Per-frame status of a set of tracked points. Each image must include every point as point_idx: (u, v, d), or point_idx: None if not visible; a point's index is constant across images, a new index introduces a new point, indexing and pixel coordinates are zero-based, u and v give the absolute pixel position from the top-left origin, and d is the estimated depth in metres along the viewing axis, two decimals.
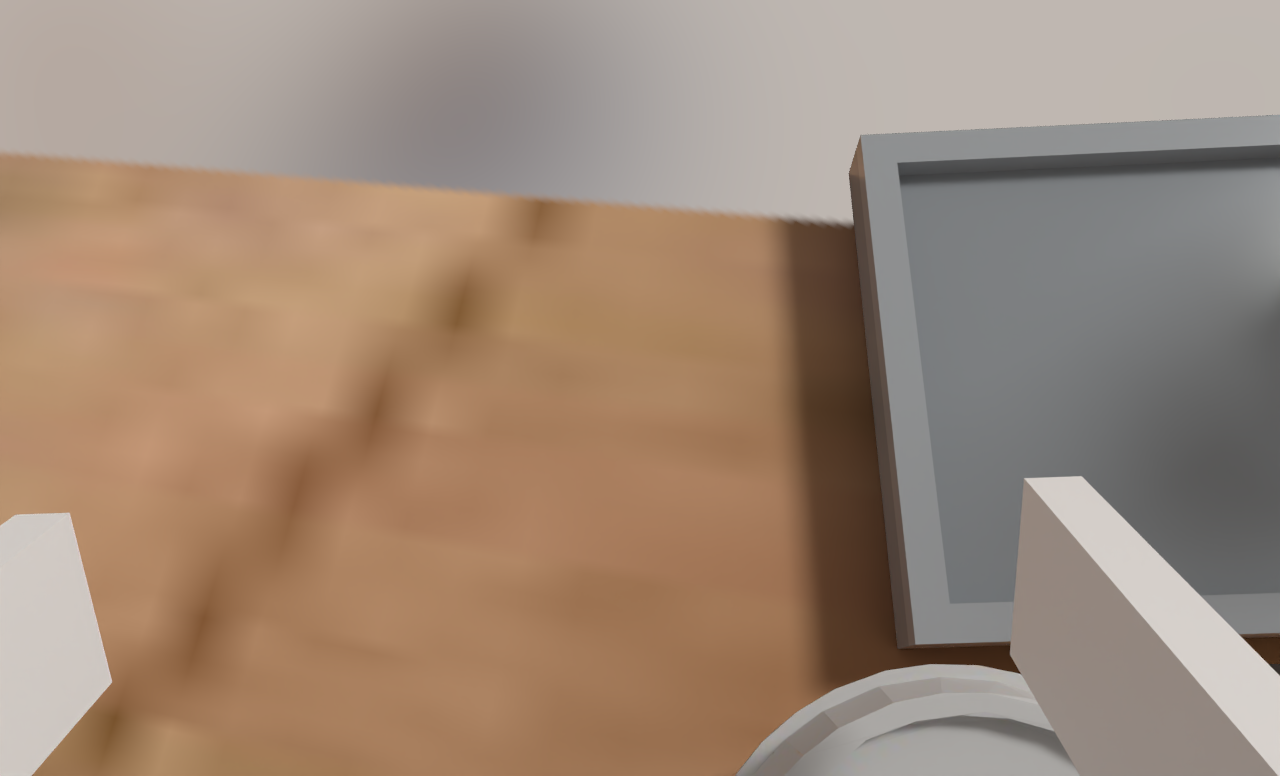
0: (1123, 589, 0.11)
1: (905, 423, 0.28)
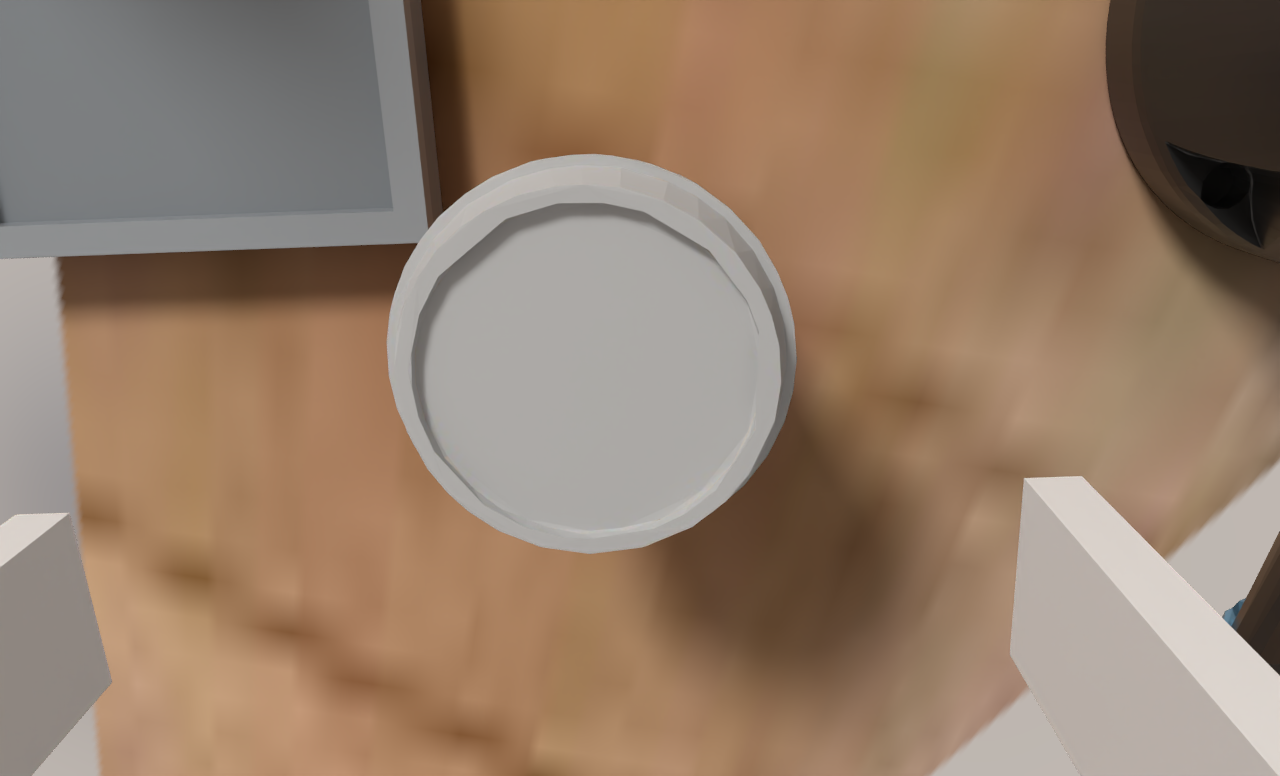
0: (1123, 589, 0.11)
1: (238, 237, 0.31)
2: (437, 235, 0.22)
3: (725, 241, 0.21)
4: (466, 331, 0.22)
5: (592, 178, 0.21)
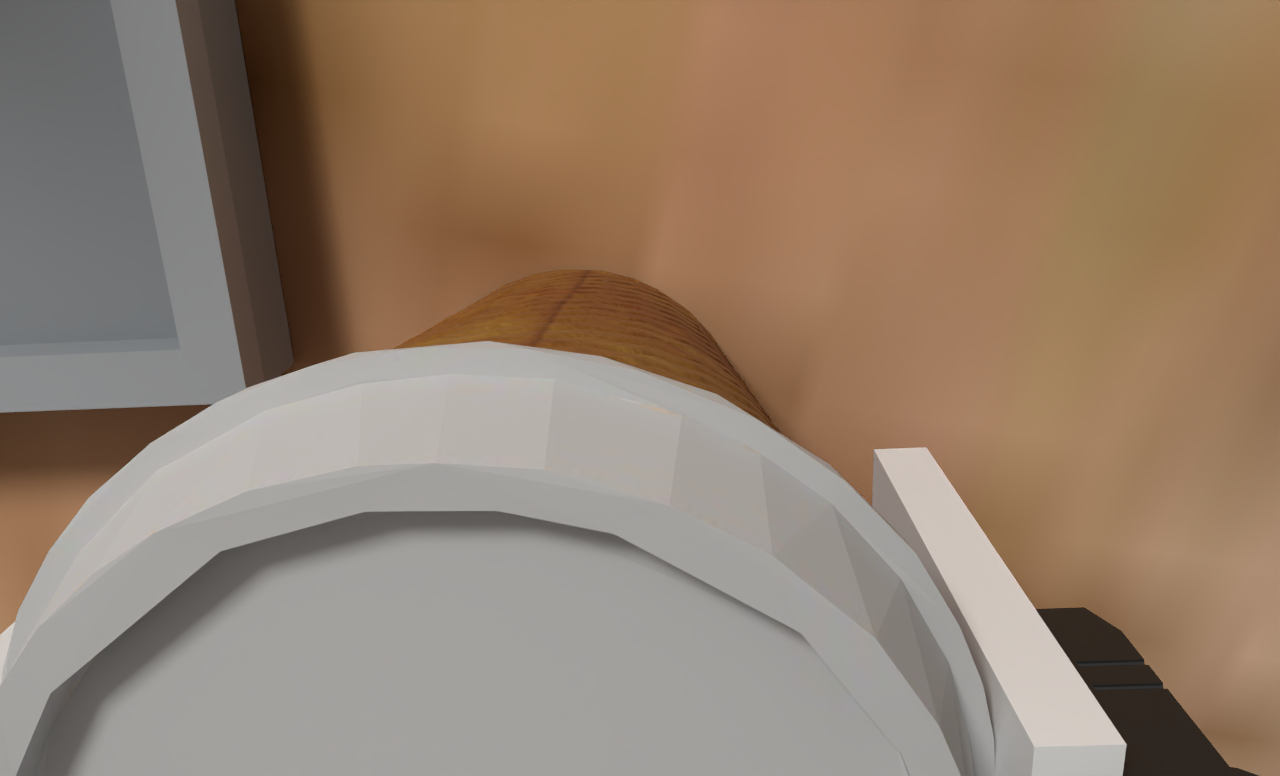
0: (928, 542, 0.12)
1: None
2: (86, 545, 0.09)
3: (843, 607, 0.07)
4: None
5: (468, 430, 0.07)
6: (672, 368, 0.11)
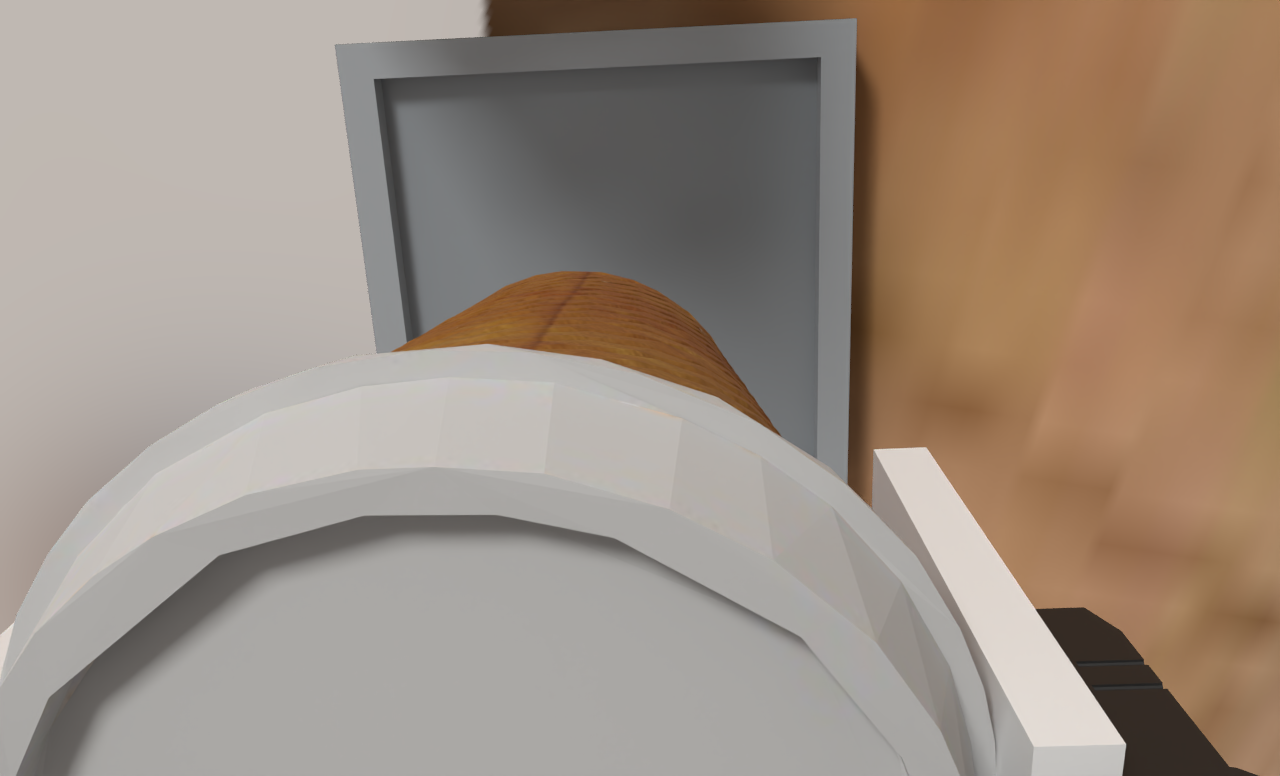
0: (928, 542, 0.12)
1: None
2: (85, 549, 0.09)
3: (844, 611, 0.07)
4: None
5: (467, 435, 0.07)
6: (672, 370, 0.11)
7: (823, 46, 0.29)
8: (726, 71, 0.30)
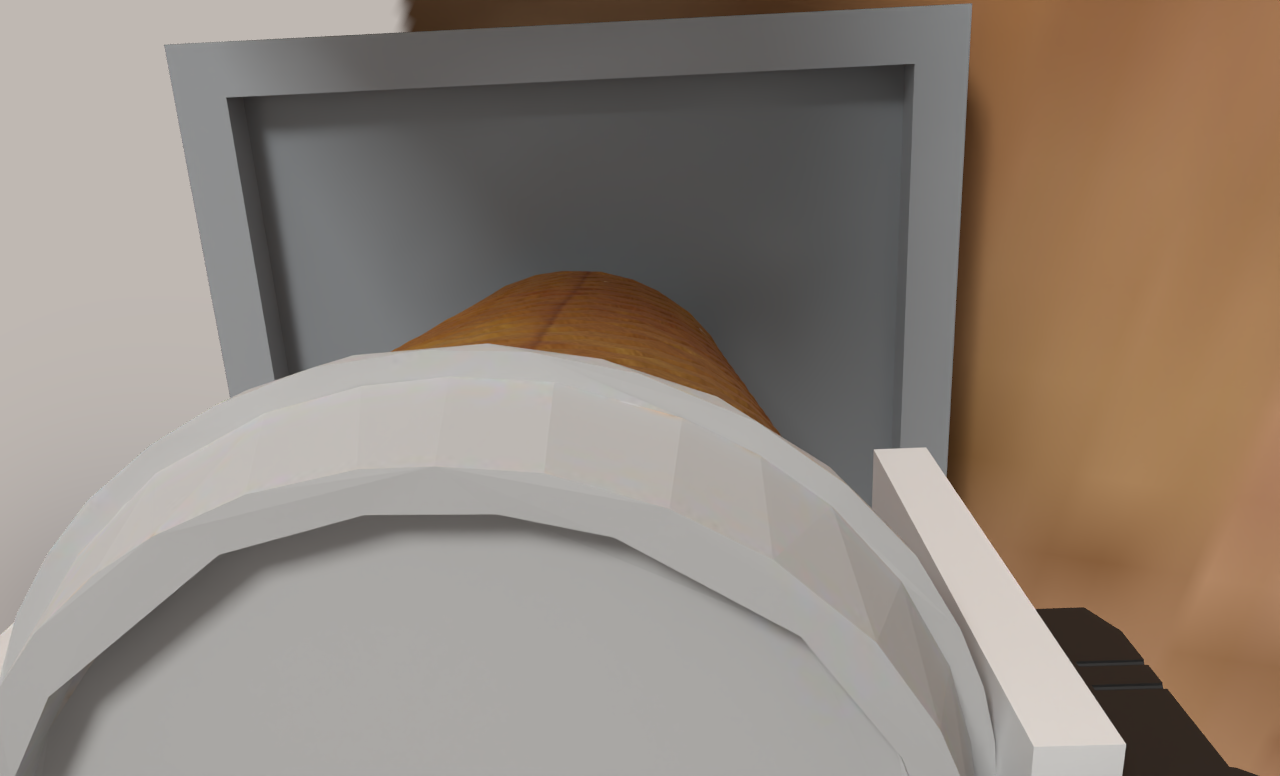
0: (928, 542, 0.12)
1: None
2: (84, 549, 0.09)
3: (844, 611, 0.07)
4: None
5: (467, 435, 0.07)
6: (672, 370, 0.11)
7: (918, 47, 0.19)
8: (766, 84, 0.20)
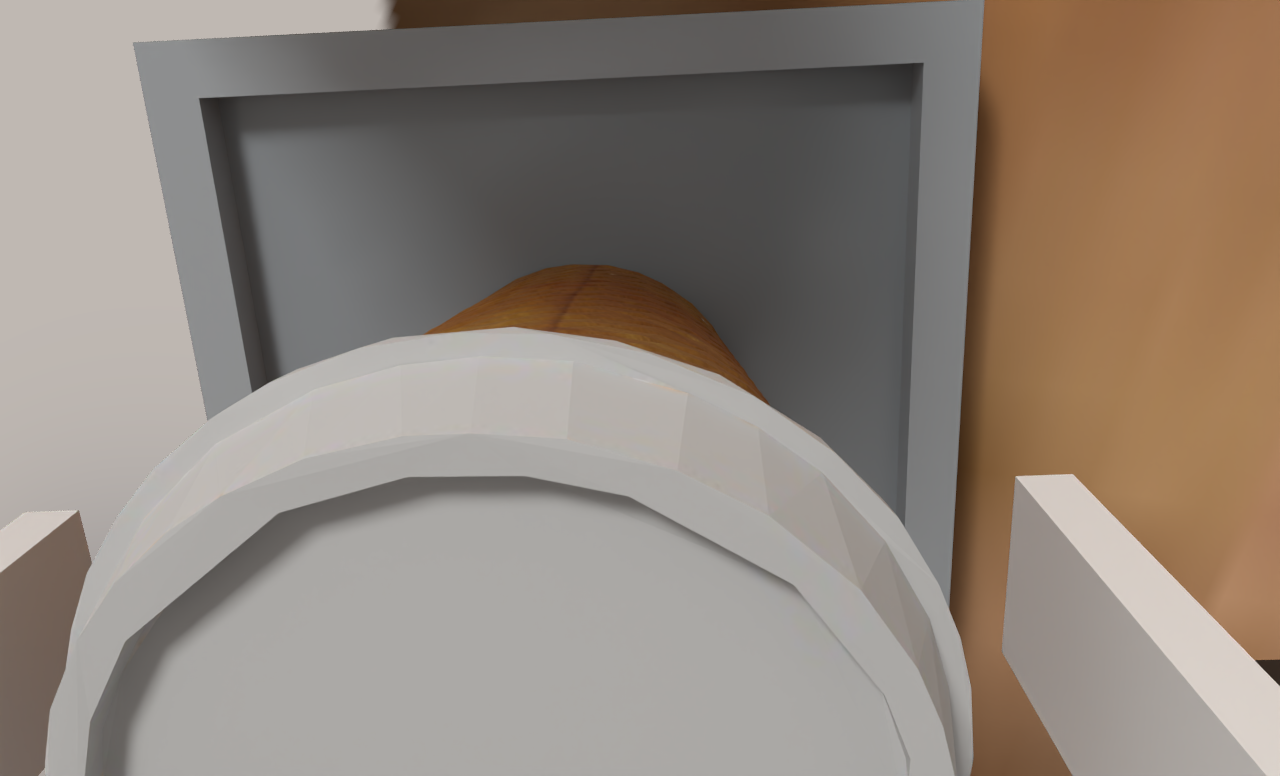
0: (1112, 586, 0.11)
1: None
2: (150, 512, 0.10)
3: (832, 561, 0.08)
4: (216, 742, 0.09)
5: (497, 405, 0.08)
6: (677, 354, 0.12)
7: (928, 45, 0.18)
8: (768, 84, 0.19)
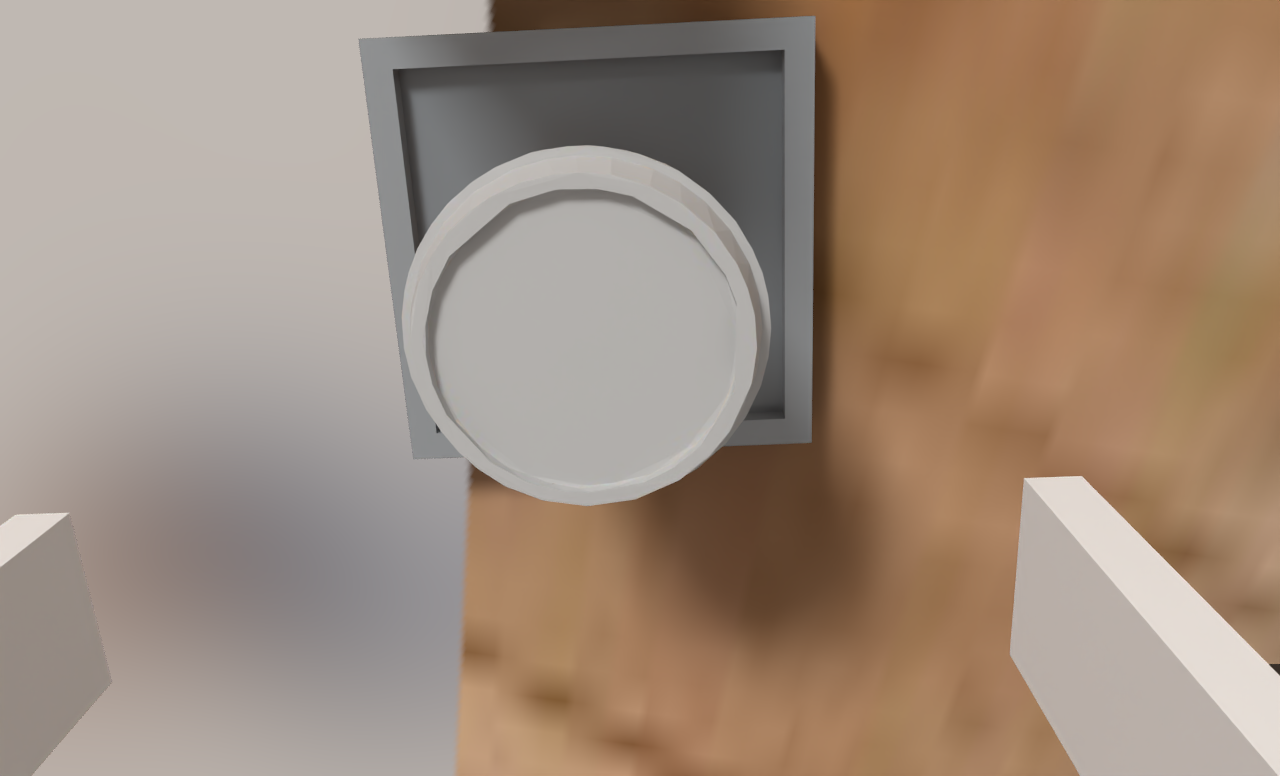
0: (1123, 589, 0.11)
1: None
2: (447, 220, 0.25)
3: (704, 222, 0.24)
4: (474, 306, 0.25)
5: (585, 167, 0.24)
6: None
7: (786, 40, 0.33)
8: (702, 62, 0.34)
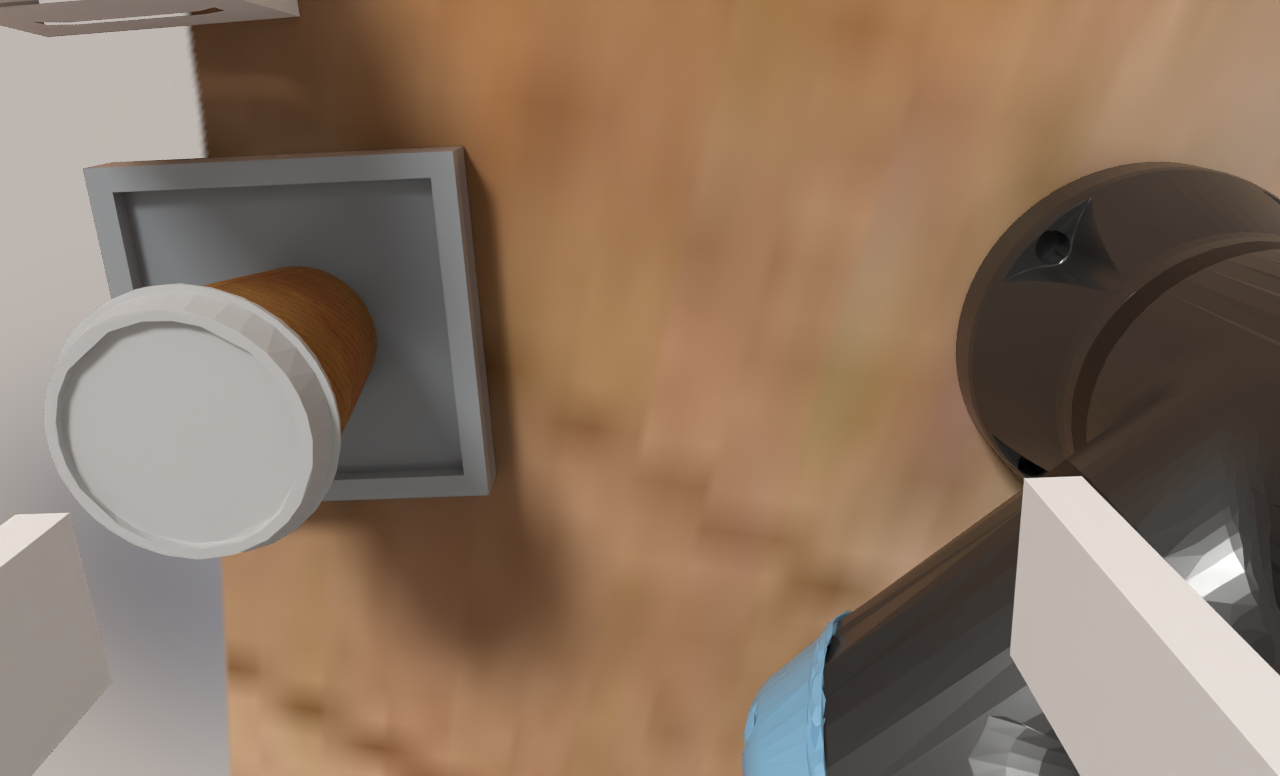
0: (1123, 589, 0.11)
1: (356, 492, 0.45)
2: None
3: (259, 345, 0.31)
4: (95, 406, 0.32)
5: (167, 303, 0.31)
6: (264, 296, 0.35)
7: (431, 170, 0.40)
8: (371, 185, 0.41)
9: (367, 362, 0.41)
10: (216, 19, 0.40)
